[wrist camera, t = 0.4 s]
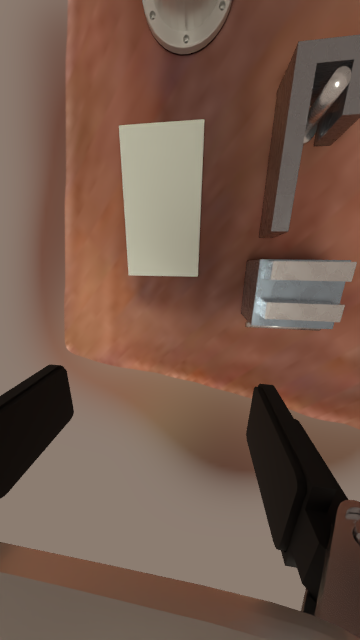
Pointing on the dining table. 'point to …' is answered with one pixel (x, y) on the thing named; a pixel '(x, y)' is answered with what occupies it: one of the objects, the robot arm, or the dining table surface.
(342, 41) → the crook
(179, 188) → the mat
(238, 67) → the dining table surface
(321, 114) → the grey metal pieces
